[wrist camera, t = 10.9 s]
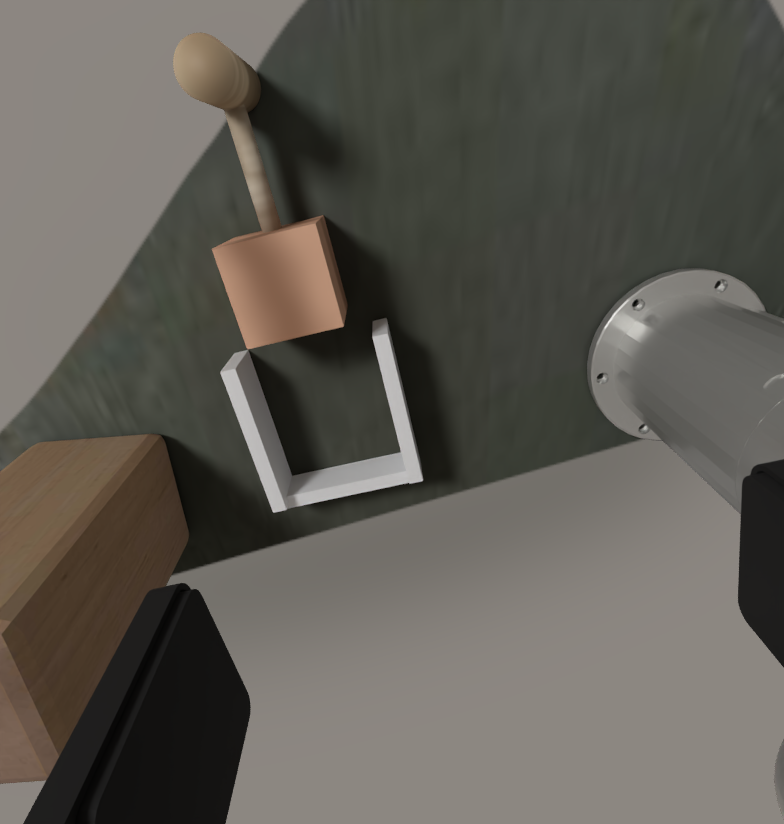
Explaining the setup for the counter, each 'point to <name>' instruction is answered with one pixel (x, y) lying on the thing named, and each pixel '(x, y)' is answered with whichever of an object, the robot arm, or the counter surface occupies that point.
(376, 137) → the counter surface
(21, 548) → the wooden block
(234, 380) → the white u-shaped bracket
